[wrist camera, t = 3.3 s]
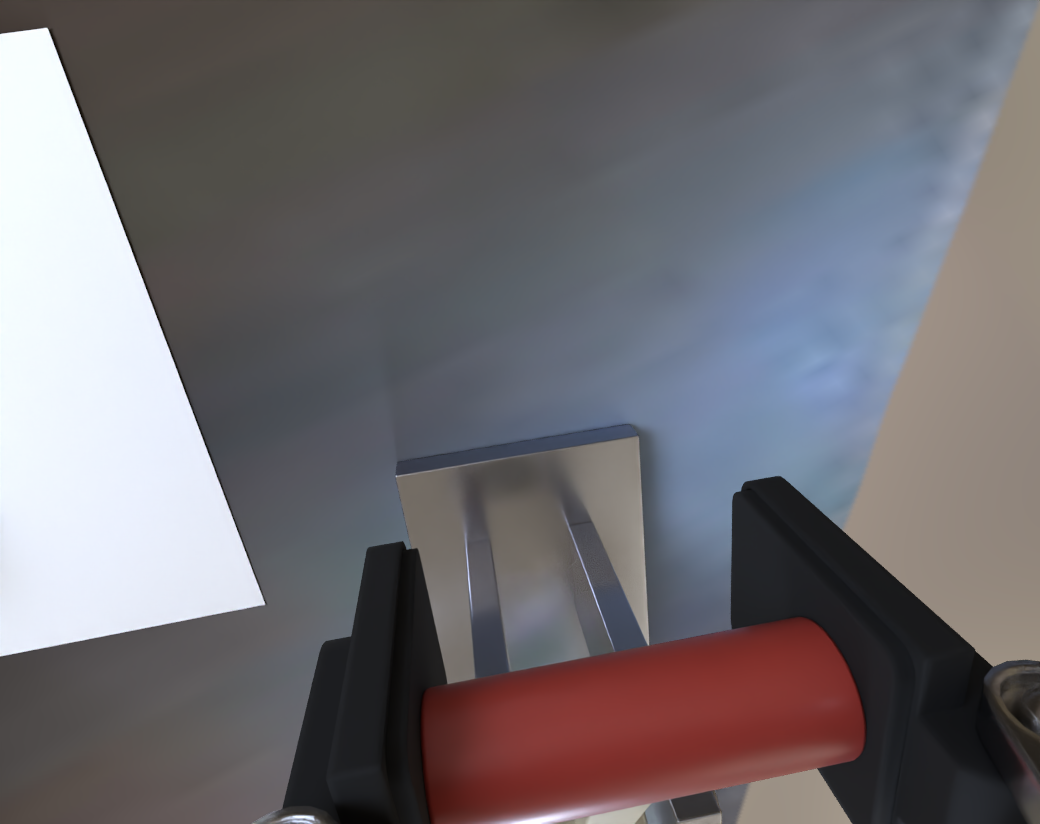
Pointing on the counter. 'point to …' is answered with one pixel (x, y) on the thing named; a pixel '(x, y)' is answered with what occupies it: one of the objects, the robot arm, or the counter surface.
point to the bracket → (537, 559)
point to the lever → (639, 727)
